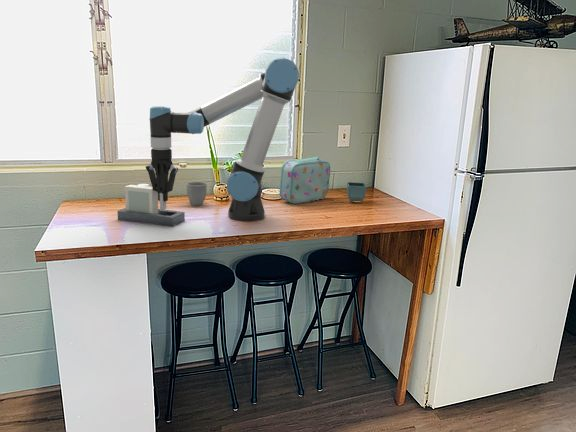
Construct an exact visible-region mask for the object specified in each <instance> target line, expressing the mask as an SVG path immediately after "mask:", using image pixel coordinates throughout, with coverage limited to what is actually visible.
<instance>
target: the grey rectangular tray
mask: <svg viewBox="0 0 576 432" xmlns="http://www.w3.org/2000/svg"><path fill="white" fill-rule="evenodd" d="M185 213H186V212H185V211H180V210H179V211H177V210H171V209H164V210H160V208H158V214H151V213H142V212H134V211H126V207H125V208H122V209H120V210H119V209H118V210H117V221H125V222H126V221H127V222H133V223H142V224H149V225H156V226H157V225H158V226H164V227H175V226H177V225H178V224H180V223H183V222H185V220H186V219H185V217H186V215H185Z"/></svg>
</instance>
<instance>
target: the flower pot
mask: <svg viewBox="0 0 576 432" xmlns="http://www.w3.org/2000/svg"><path fill="white" fill-rule="evenodd" d="M367 188H368V186H367V185H366V184H365V182H353V181H351V182H350V181H347V182H346V193H347V198H348V200H349V202H350V201H362V202H363V201H364V200H365V197H366V193H367Z"/></svg>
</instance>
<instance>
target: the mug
mask: <svg viewBox="0 0 576 432" xmlns="http://www.w3.org/2000/svg"><path fill="white" fill-rule="evenodd" d="M207 188H208V185H207V183H206V182H204V181H191V182H189V181H188V182H187V183H186V193H187V198H188V200H189V203H190V205H191V206H193V205H194V206H195V207H199V206H203V205H204V202H205V199H206V195H207Z"/></svg>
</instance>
